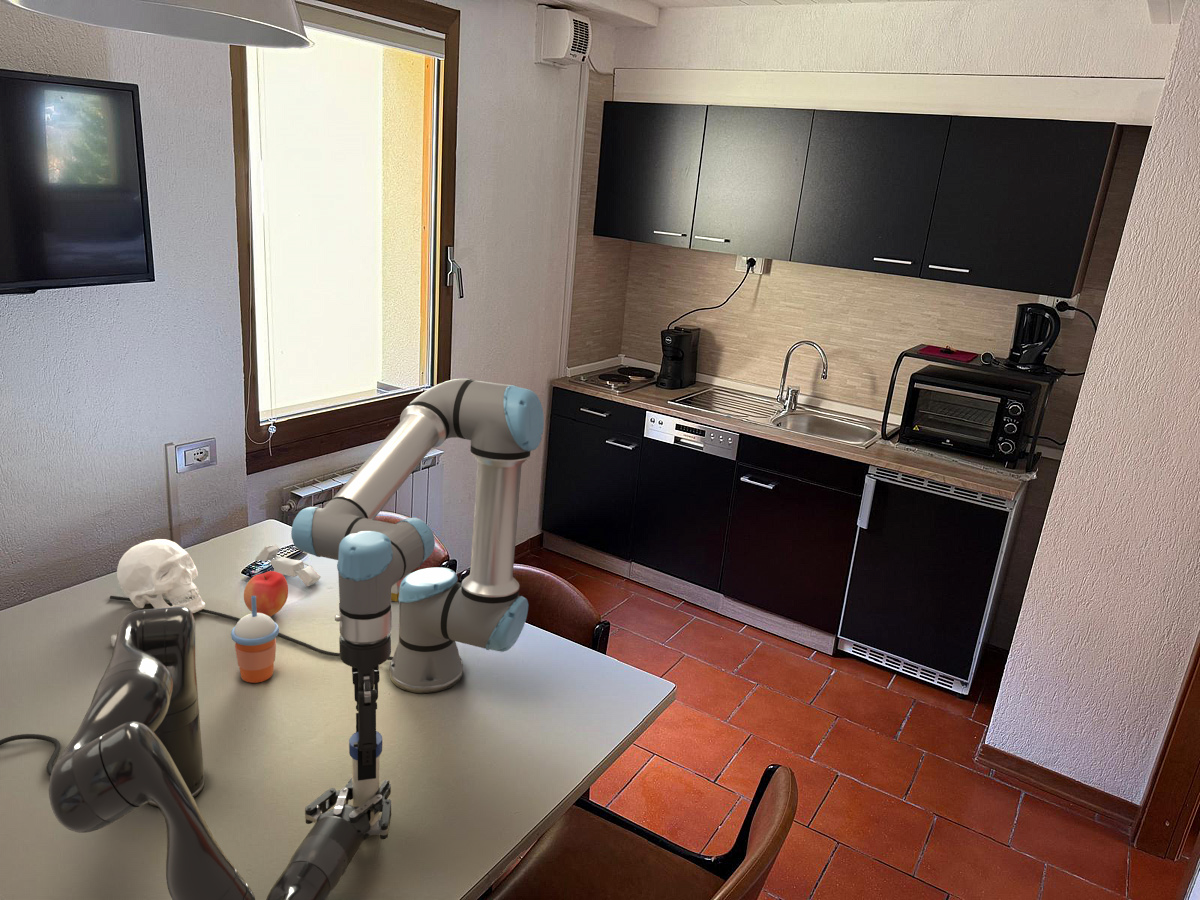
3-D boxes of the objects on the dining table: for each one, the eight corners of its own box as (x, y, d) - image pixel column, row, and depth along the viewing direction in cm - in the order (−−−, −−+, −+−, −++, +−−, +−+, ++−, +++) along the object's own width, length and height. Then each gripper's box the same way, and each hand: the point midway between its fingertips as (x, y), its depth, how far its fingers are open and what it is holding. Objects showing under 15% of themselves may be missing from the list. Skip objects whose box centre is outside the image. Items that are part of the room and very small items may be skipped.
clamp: (253, 565, 223) (254, 542, 221) (265, 560, 226) (266, 537, 224) (309, 593, 215) (310, 569, 213) (320, 588, 218) (321, 564, 216)
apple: (273, 600, 207) (272, 562, 204) (297, 613, 202) (296, 575, 199) (237, 614, 200) (234, 575, 197) (261, 628, 194) (259, 588, 191)
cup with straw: (264, 690, 172) (261, 610, 167) (223, 682, 173) (219, 602, 168) (289, 667, 180) (286, 590, 175) (250, 659, 182) (246, 583, 177)
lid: (370, 764, 131) (370, 752, 131) (342, 756, 133) (342, 744, 132) (388, 746, 136) (388, 734, 135) (360, 738, 137) (360, 726, 137)
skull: (183, 627, 192) (180, 562, 188) (105, 607, 198) (100, 543, 194) (224, 603, 205) (222, 542, 200) (149, 585, 210) (146, 525, 206)
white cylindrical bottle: (347, 827, 138) (346, 742, 134) (369, 814, 142) (369, 730, 137) (362, 840, 136) (362, 754, 131) (384, 827, 139) (385, 742, 134)
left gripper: (368, 846, 121) (415, 770, 137) (275, 827, 123) (332, 754, 139) (369, 889, 123) (414, 808, 139) (277, 869, 125) (332, 792, 142)
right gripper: (338, 604, 136) (340, 728, 143) (340, 671, 118) (342, 808, 125) (387, 601, 138) (386, 723, 145) (395, 666, 120) (394, 801, 127)
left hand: (373, 782), depth 139 cm, fingers closed on white cylindrical bottle, 4 cm apart
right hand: (365, 762), depth 135 cm, fingers open, 7 cm apart
